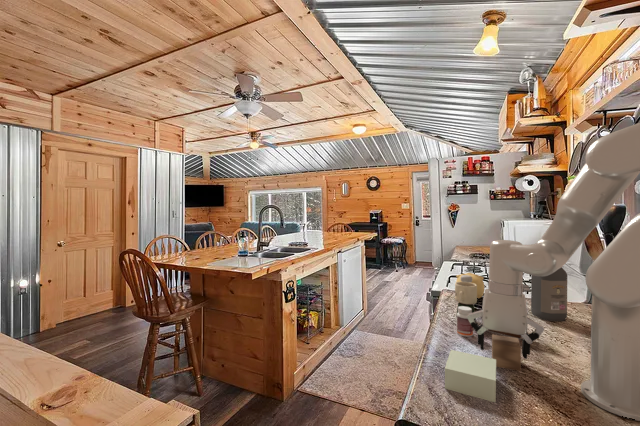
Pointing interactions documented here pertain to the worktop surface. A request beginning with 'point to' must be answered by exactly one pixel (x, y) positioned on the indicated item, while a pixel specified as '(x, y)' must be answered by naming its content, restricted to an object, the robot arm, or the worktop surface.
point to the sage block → (471, 375)
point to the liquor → (549, 296)
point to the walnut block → (506, 352)
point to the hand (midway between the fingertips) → (502, 351)
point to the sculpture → (476, 280)
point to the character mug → (466, 295)
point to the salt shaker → (466, 279)
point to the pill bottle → (464, 322)
